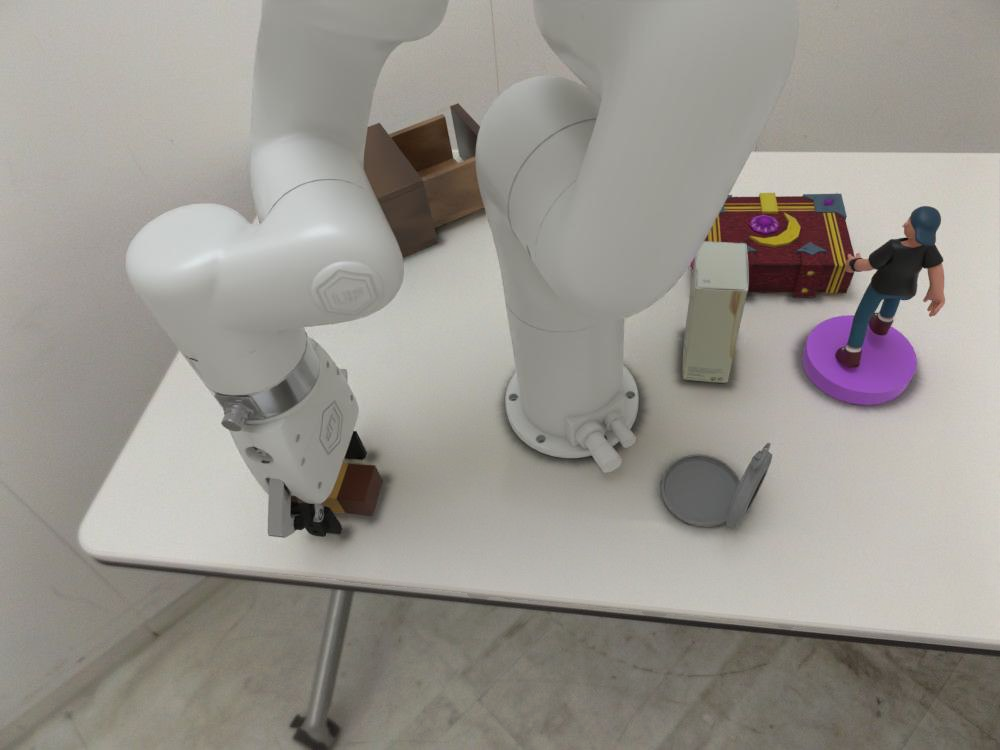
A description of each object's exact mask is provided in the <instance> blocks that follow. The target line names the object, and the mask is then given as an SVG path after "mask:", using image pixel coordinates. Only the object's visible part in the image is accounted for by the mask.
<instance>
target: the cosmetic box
mask: <svg viewBox="0 0 1000 750" xmlns="http://www.w3.org/2000/svg"><path fill="white" fill-rule="evenodd" d="M748 284H749V271H748V254H747V244H745V243H727V242H711V241H704V242H703V244H702V246H701V248H700V249H699V251H698V253H697V254H696V256H695V260H694V267H693V268H692V276H691V283H690V290H689V291H690V292H689V300H688V307H687V314H686V322H685V330H684V335H683V336H684V337H683V350H682V351H683V352H682V353H683V354H682V379H683V380H685V381H687V380H688V381H697V382H707V383H720V384H721V383H722V384H727V383H728V382H729V378H730V374H731V369H732V366H733V365H732V364H733V360H734V355H735V352H736V351H735V350H736V346H737V342H738V337H739V332H740V328H741V323H742V318H743V313H744V310H745V304H746V299H747V296H748V294H747V292H748ZM748 293H749V292H748Z"/></svg>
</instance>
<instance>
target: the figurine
mask: <svg viewBox="0 0 1000 750" xmlns="http://www.w3.org/2000/svg"><path fill="white" fill-rule="evenodd" d="M910 213H911V214H910V216H909V217H908V219H907V220H906V221H905V222H904V223H903V225H902V226H901V227H902V228H904V229H903V234H904V236H905V237H900V238H890V239H889V240H887V241H886V242H885V243H883V244H882V245H881V246H879V247H878V248H876V249H875V250H874V251H872V252H871V253H869V255H868V258H863V257H861V254H860V252H856V253H855V255H854V256H855V257H853V256H851V254H848V255H847V256H848V260H847V261H846V265H845V266H846V272H850V273H853V272H854V273H855V272H856V273H861V272H870V271H873V270H876V271H875V273H874V274H873V275H872V277H871V279H870V283H869V284H868V286H867V287H866V289H865V292H864V294H863V295H862V297H861V299H860V301H859V303H858V306H857V308H856V311H855V313H854V315H853V314H851V315H850V314H849V315H839V316H834V317H830V318H828V319H827V318H826V319H825V320H823V321H821V322H820V323H818V324H817V325H816V326H815V327H814V328H812V329H811V332H810V333H809V335H808V337H807V339H806V342H805V345H804V348H803V351H802V355H801V363H802V367H803V370H804V372H805V374H806V376H807V378H808V379H809V380H810V381H811V383H812V384H813V385H814V386H815V387H816V388H817V389H819V390H820V391H821V392H823V393H825V394H826V395H828V396H829V397H831V398H834V399H836V400H838V401H841V402H843V403H848V404H851V405H859V406H875V405H880V404H881V405H882V404H885V403H888V402H891V401H893V400H895V399H896V398H898V397H900V396H901V394H903V392H904V391H906V389H907V388H908V385H909V384H910V382H911V380H912V378H913V376H914V375H915V373H916V370H917V365H918V358H917V354H916V352H915V349H914V346H913V345H912V343H911V342H910V340H908V338H907V337H905V335H904V334H903V333H902V332H900V331H899V330H898V329H896V328H895V327H893V323H894V317H895V316H896V315H897V311H898V308H899V305H900V303H901V301H909V300H911V299H913V298H914V297H915V296H917V292H918V279H919V275H920V272H921V271H922V270H923V269H926V270H927V276H928V281H929V286H928V289H927V291H926V294H925V296H924V298H923V300H922V301H923V303H927V302H928V301H931V302H930V304H929V305H928V307H927V309H926V310H927V311H928V312H929V313H928V317H930V318H931V317H935V316H936V315H938V313H939V312H940V311H941V309H942V308H943V307H944V306H945V304H946V297H945V270H944V265H943V262H944V257H943V256H942V254H941V253H940V251H939V249H938V247H937V245H936V243H937V232H938V230H939V228H940V226H941V223H942V216H941V213H940V211H939V210H938V209H937V208H936V207H933V206H929V205H922V206H921V205H920V206H919V207H917V208H915V209H913V210H912V212H910ZM881 303H882V304H881ZM880 304H881V306H880ZM879 306H880V309H879V312H876V311H877V309H878V308H879Z"/></svg>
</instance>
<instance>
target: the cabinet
mask: <svg viewBox="0 0 1000 750" xmlns="http://www.w3.org/2000/svg"><path fill="white" fill-rule="evenodd" d="M389 134H390V133H388V132H387V130H386V129H385V127H384V126H383V125H382V123H381V122H378V123H375V124H372V125H368V128H367V135H366V142H365V150H364V168H363V169H364V171H365V173H366V176H367V178H368V180H369V183H370V185H371V187H372V189H373V192H374V194H375V196H376V198H377V200H378V202H379V204H380V206H381V208H382V210H383V212H384V215H385V217H386V219H387V221H388V223H389V225H390V227H391V229H392V231H393V234H394V236H395V238H396V240H397V242H398V245H399V248H400V251H401V254H402V257H403V258H405V257H407V256H410V255H413V254H415V253H417V252H419V251H422V250H425V249H426V248H430V247H431V246H434V245H436V244H438V243H439V240H438V236H437V233H436V228H434V224H433V220H432V216H431V212H430V207H429V203H428V199H427V195H426V191H425V187H424V183H423V180H422V178H421V177H420V176H419V174H418V173H417V172H416V170H415V169H414V168H413V166H412V165H411V164H410V162H409V161H408V160H407V158H406V157H405V156H404V154H403V153H402V152H401V150H400V149H399V148H398V146H397V145H396V144H395V142H394V141H393V140H392V138H391V137H390V136H389Z"/></svg>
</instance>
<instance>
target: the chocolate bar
mask: <svg viewBox="0 0 1000 750" xmlns="http://www.w3.org/2000/svg"><path fill="white" fill-rule="evenodd" d="M383 482H384V480H383V478H382V475H381V474H380V471H379V470H378V468H377V466H376V465H373V464H364V463H351V462H344V461H343V463H342V466H341V469H340V471H339V474H338V477H337V480H336V482H335V485H334V487H333V490H332V492H331V493H330V495H329V496H328V498H327V499H326V500H325V501H324V502H323V506H327V507H329V508H331V510H332V511H333V513H334V514H335V513H337V514H345V515H346V514H348V515H349V514H350V515H360V516H370V517H373V515H374V511H375V509H376V506H377V502H378V499H379V496H380V492H381V488H382V486H383ZM297 498H298V497H297ZM300 502H301V503H306V502H304V501H303V500H301V499H299V498H298V504H299V503H300Z"/></svg>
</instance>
